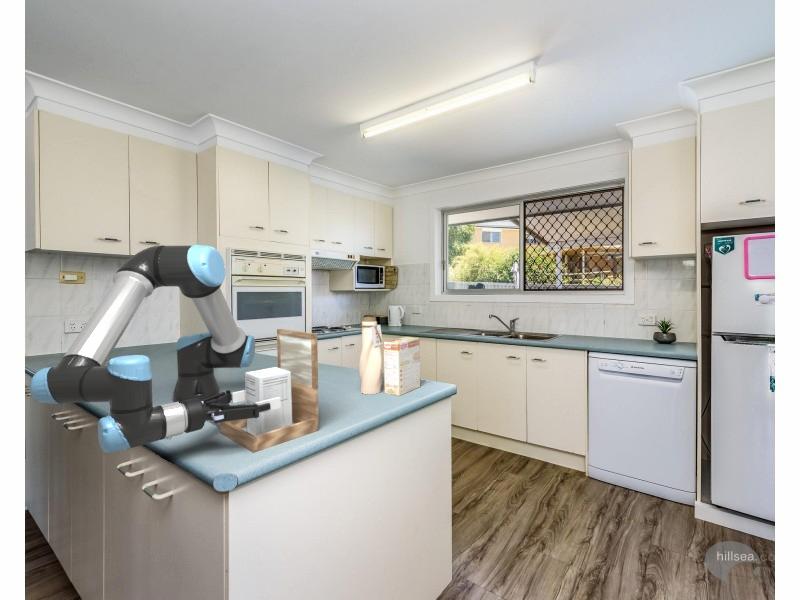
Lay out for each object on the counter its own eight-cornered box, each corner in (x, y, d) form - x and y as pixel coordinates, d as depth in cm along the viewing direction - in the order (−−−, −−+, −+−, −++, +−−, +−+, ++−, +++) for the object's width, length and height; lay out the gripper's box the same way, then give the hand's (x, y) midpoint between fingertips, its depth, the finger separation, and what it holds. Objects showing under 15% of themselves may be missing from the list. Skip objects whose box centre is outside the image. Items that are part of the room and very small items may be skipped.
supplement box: (277, 423, 114) (276, 366, 113) (293, 431, 108) (292, 371, 107) (245, 432, 107) (243, 371, 107) (260, 441, 101) (258, 377, 100)
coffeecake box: (405, 384, 156) (405, 336, 156) (421, 387, 152) (420, 337, 152) (383, 393, 144) (382, 341, 143) (399, 396, 140) (398, 342, 139)
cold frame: (253, 452, 94) (250, 341, 93) (220, 432, 107) (217, 335, 106) (319, 430, 108) (317, 333, 107) (282, 415, 121) (280, 329, 120)
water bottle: (390, 390, 147) (389, 317, 146) (376, 396, 140) (375, 319, 139) (368, 387, 153) (367, 316, 152) (354, 392, 145) (352, 318, 144)
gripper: (165, 420, 99) (246, 401, 115) (203, 448, 82) (291, 421, 98) (164, 391, 99) (245, 376, 115) (202, 413, 82) (291, 392, 98)
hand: (267, 397), depth 106 cm, fingers open, 13 cm apart
